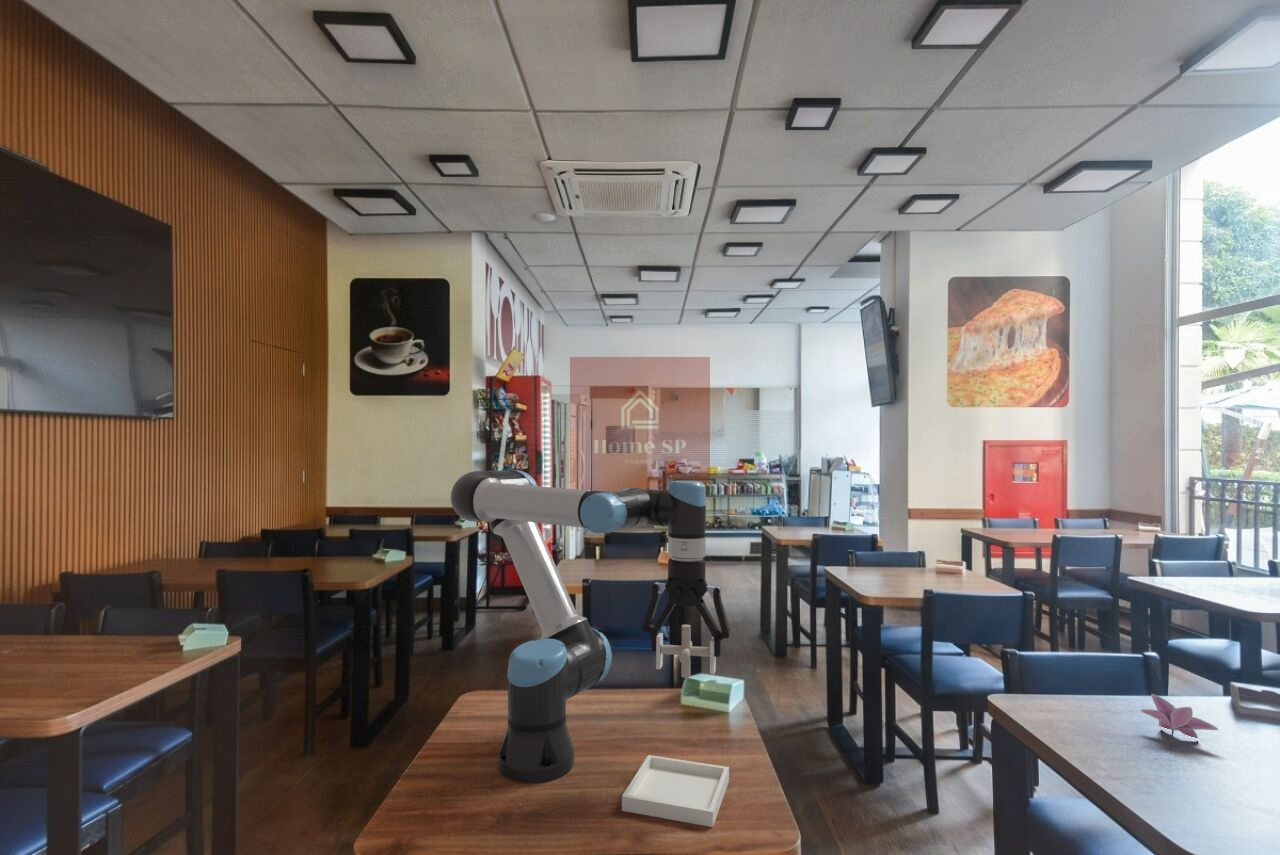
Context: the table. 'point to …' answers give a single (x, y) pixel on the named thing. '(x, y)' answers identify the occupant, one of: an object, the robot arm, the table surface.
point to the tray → (677, 790)
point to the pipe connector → (685, 651)
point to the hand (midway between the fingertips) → (685, 669)
